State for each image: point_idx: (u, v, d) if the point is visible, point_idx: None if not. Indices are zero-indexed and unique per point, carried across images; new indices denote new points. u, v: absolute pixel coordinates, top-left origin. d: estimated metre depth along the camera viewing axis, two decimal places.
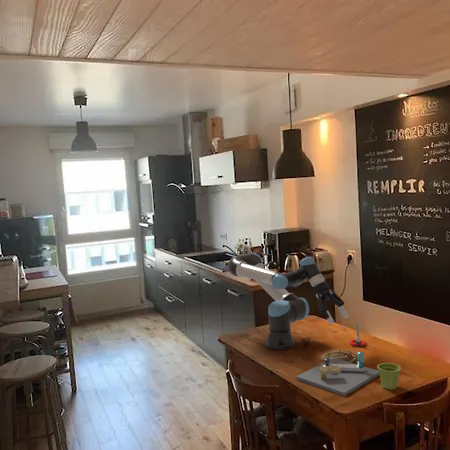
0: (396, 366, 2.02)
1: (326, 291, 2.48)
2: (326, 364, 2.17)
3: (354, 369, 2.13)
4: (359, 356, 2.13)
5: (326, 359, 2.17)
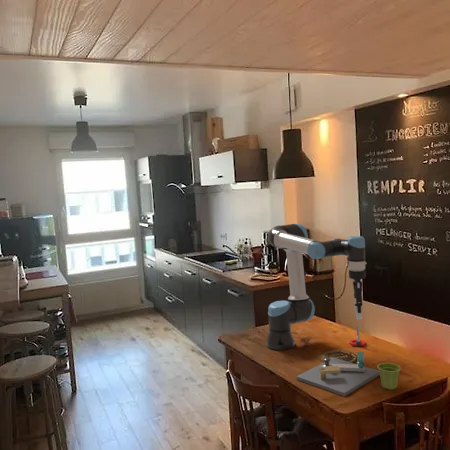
0: (396, 366, 2.02)
1: None
2: (326, 364, 2.17)
3: (354, 369, 2.13)
4: (359, 356, 2.13)
5: (326, 359, 2.17)
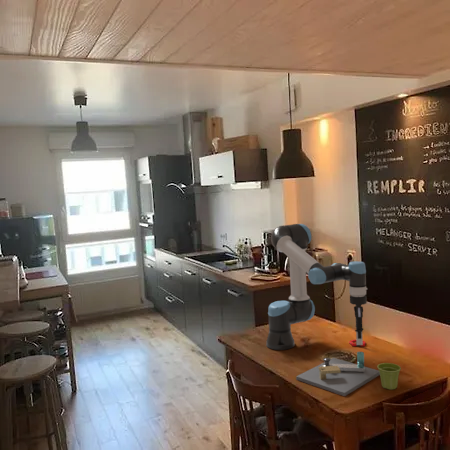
0: (396, 366, 2.02)
1: None
2: (326, 364, 2.17)
3: (354, 369, 2.13)
4: (359, 356, 2.13)
5: (326, 359, 2.17)
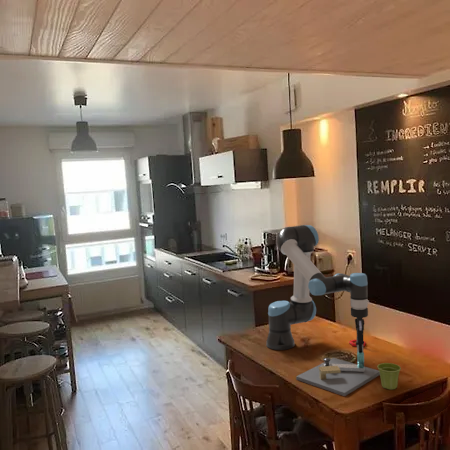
0: (396, 366, 2.02)
1: None
2: (326, 364, 2.17)
3: (354, 369, 2.13)
4: (359, 356, 2.13)
5: (326, 359, 2.17)
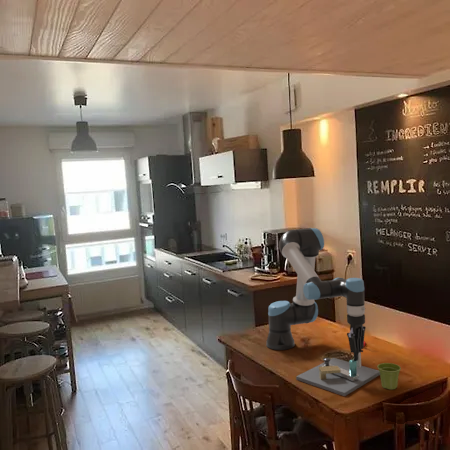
0: (396, 366, 2.02)
1: None
2: (325, 364, 2.17)
3: (344, 376, 2.07)
4: (349, 364, 2.05)
5: (325, 359, 2.18)
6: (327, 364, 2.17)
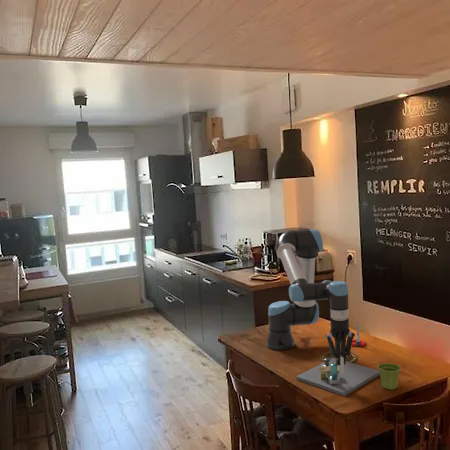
0: (396, 366, 2.02)
1: None
2: (324, 363, 2.18)
3: (327, 377, 2.06)
4: None
5: (325, 359, 2.18)
6: (326, 364, 2.17)
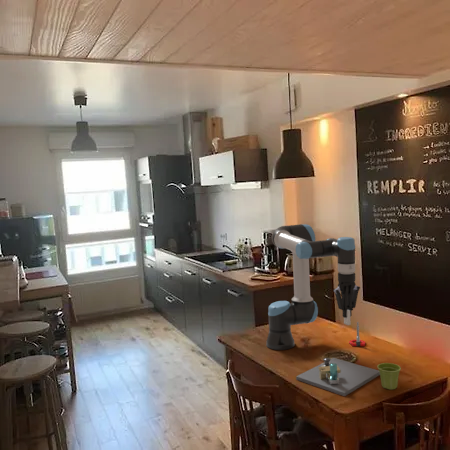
0: (396, 366, 2.02)
1: None
2: (324, 363, 2.18)
3: (327, 377, 2.06)
4: None
5: (325, 359, 2.18)
6: (326, 364, 2.17)
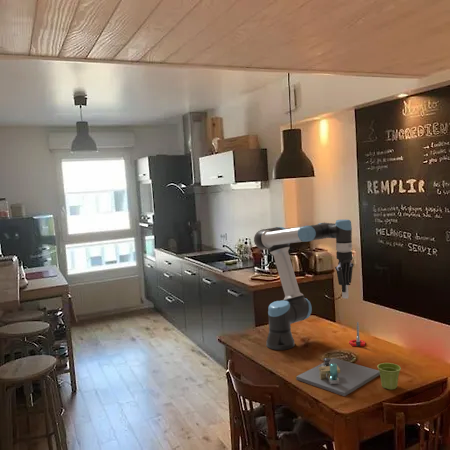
0: (396, 366, 2.02)
1: None
2: (324, 363, 2.18)
3: (327, 377, 2.06)
4: None
5: (325, 359, 2.18)
6: (326, 364, 2.17)
